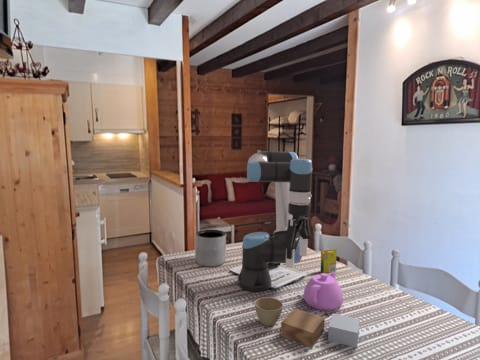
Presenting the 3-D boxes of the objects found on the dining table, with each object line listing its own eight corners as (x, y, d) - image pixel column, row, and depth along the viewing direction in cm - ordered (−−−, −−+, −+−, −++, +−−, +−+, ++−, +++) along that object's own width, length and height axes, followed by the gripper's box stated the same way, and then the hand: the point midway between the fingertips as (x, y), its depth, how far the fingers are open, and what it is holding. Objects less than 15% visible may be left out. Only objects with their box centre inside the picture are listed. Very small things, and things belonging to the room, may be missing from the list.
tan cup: (281, 332, 115) (281, 312, 114) (252, 328, 117) (252, 308, 116) (283, 317, 124) (283, 298, 123) (256, 313, 126) (257, 295, 125)
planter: (231, 260, 180) (232, 232, 178) (213, 270, 166) (213, 239, 164) (207, 254, 188) (208, 227, 186) (188, 263, 175) (188, 234, 173)
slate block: (328, 340, 110) (328, 326, 110) (332, 326, 119) (332, 313, 118) (356, 347, 107) (357, 333, 106) (358, 333, 115) (359, 319, 114)
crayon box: (332, 269, 171) (334, 247, 170) (336, 271, 168) (337, 249, 167) (319, 270, 169) (321, 248, 167) (323, 273, 166) (324, 250, 164)
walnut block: (280, 336, 112) (281, 322, 112) (294, 321, 121) (295, 308, 121) (312, 347, 106) (312, 333, 106) (323, 331, 115) (324, 317, 115)
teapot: (330, 320, 123) (332, 289, 121) (292, 306, 132) (293, 277, 131) (351, 298, 140) (353, 270, 139) (316, 287, 149) (317, 261, 148)
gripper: (296, 210, 105) (294, 275, 108) (320, 198, 127) (317, 253, 129) (274, 207, 109) (272, 270, 112) (301, 196, 130) (298, 249, 133)
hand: (296, 261), depth 121 cm, fingers open, 13 cm apart
